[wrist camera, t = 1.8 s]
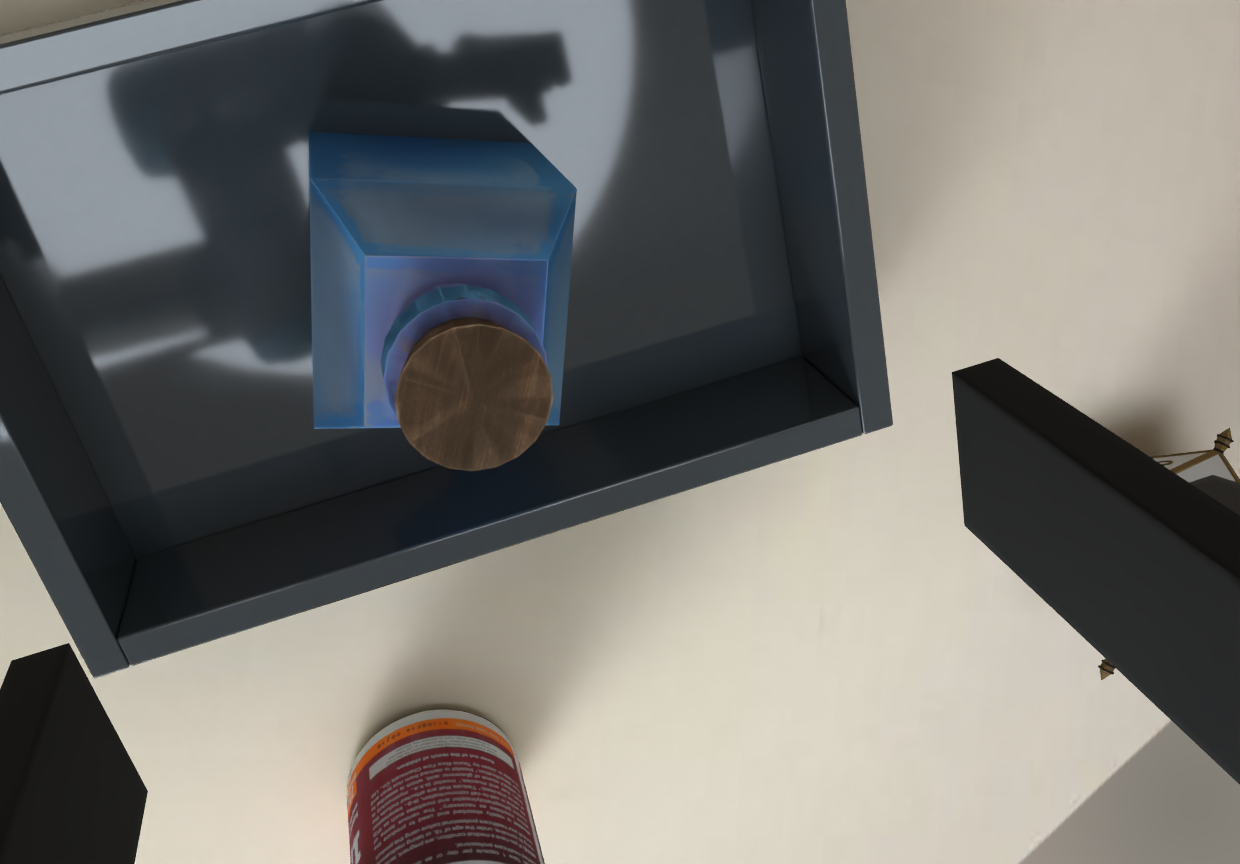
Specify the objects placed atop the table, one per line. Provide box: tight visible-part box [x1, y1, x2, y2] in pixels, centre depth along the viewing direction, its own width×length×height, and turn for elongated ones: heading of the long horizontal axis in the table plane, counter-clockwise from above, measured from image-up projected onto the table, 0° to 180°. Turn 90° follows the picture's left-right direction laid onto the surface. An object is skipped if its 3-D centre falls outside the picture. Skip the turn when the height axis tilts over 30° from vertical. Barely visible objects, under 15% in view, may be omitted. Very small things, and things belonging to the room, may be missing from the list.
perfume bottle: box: [309, 132, 577, 471], centre depth 28 cm, size 6×6×12 cm
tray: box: [0, 0, 893, 678], centre depth 32 cm, size 24×16×5 cm, turn 102°
